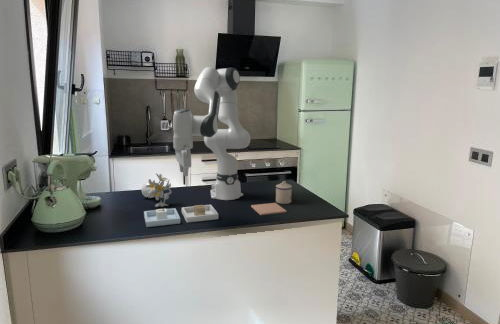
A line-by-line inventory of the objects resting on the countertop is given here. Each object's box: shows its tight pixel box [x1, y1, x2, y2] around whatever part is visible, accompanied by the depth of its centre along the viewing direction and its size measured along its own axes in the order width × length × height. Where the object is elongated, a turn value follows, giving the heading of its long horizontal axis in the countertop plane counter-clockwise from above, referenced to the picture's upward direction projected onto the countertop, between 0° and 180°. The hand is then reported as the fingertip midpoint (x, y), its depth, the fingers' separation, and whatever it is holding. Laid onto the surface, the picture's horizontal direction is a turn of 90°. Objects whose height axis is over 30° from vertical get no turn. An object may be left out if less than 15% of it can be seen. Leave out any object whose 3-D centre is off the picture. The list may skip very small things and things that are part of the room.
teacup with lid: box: [275, 180, 293, 205], centre depth 204 cm, size 12×9×12 cm
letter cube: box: [155, 208, 167, 220], centre depth 173 cm, size 4×4×5 cm
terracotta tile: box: [250, 202, 287, 216], centre depth 191 cm, size 14×14×1 cm
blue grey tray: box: [143, 207, 181, 228], centre depth 173 cm, size 15×15×3 cm
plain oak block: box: [193, 204, 205, 216], centre depth 179 cm, size 4×4×4 cm
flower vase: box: [141, 173, 173, 208], centre depth 201 cm, size 13×18×25 cm
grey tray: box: [181, 204, 219, 223], centre depth 179 cm, size 15×15×3 cm
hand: (183, 173), depth 172 cm, fingers open, 8 cm apart
